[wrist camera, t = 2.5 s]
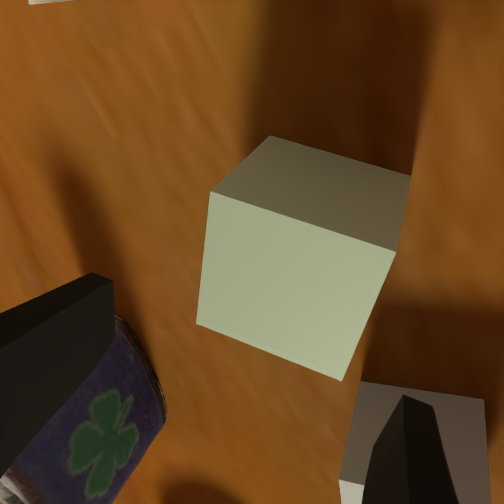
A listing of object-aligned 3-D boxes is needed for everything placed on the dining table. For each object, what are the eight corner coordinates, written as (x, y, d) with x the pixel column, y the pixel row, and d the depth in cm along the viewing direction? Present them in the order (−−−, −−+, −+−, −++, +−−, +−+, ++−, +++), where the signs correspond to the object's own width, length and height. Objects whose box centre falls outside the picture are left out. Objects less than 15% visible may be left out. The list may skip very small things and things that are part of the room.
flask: (90, 308, 25) (-94, 486, 16) (133, 313, 24) (-42, 506, 15) (139, 420, 29) (14, 604, 21) (177, 428, 28) (61, 627, 20)
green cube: (411, 174, 15) (396, 252, 11) (366, 288, 18) (341, 381, 14) (270, 134, 16) (210, 191, 12) (250, 247, 19) (195, 323, 15)
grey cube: (483, 397, 18) (491, 515, 14) (475, 472, 21) (481, 591, 17) (360, 379, 20) (338, 479, 16) (366, 450, 23) (348, 552, 19)
